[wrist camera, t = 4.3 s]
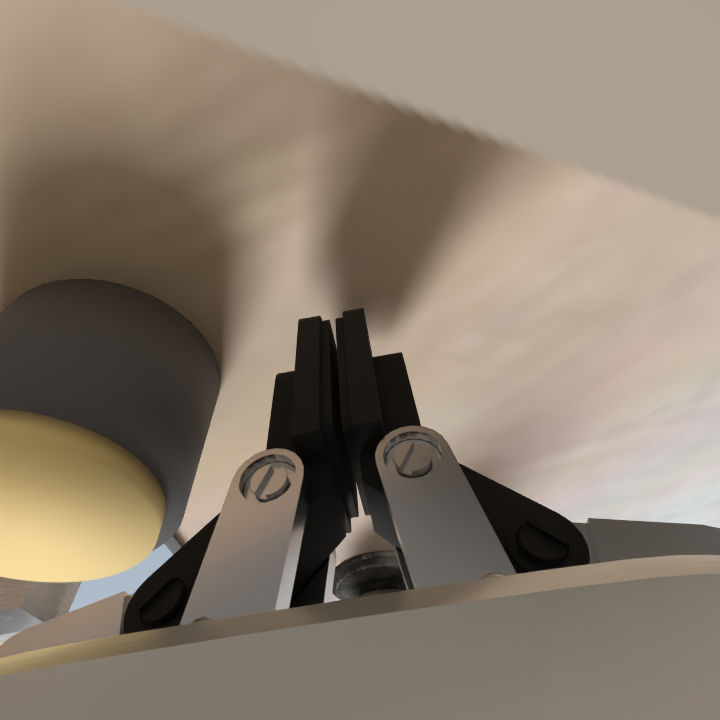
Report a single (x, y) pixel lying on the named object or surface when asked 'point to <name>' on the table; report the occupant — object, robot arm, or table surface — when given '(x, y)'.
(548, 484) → the table surface
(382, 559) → the dark grey turned post
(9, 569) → the grey and yellow cylinder
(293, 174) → the table surface
